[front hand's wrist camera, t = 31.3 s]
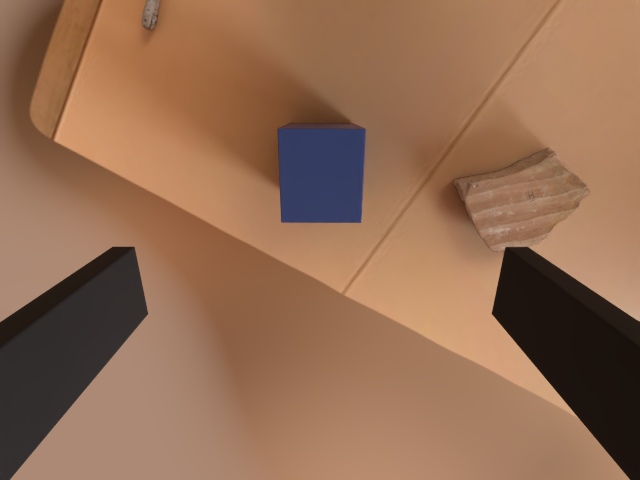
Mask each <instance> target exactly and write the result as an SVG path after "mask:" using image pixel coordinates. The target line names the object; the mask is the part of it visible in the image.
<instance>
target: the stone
mask: <svg viewBox="0 0 640 480" xmlns="http://www.w3.org/2000/svg"><path fill="white" fill-rule="evenodd" d="M453 184H454V185H455V186H456V188H457V191H458V193H459V195H460V198H461V200H462V201H463V202H465V208H466V210H467V212H468V215H469V216H470V218H471V219H472V220H473V223H474V225H475V227H476V230H477V232H478V234H479V235H480V236H481V238H482V239H483V240H484V242H485V243H486V245H487V246H488V247H489V248H490V250H491V251H496V252H498V251H505V247H530V246H533V245H536V244H540V243H542V242H543V241H544V240H545V239H546V238H547V236H548V235H549V234H550V233H551V231H552V229H553V228H554V226H555V225H556V224H557V223H559V222H561V221H563V220H565V219H567V218H568V217H569V216H570V215H572V214H573V213H574V212H575V211H576V210H577V208H578V207H579V204H580V201H581V200H582V199H584V198H585V197H586V196H588V195H590V190H589V188H588V186H587V185H586V184H585V183H584V182H583V181H582V180H581V179H580V178H579V177H577V176H576V175H575V174H574V173H573V172H572V171H570V170H569V169H568V168H567V167H566V166H565V165H564V164H563V163H562V162H561V160H560V158H559V157H558V155H557V153H556V152H555V151H552V150H551V148H547V149H545V150H543V151H541V152H538V153H535V154H533V155H531V156H530V157H528V158H525V159H523V160H520V161H517V162H516V163H514V164H513V165H512V166H510V167H508V168H505V169H503V170H499V171H497V172H493V173H488V174H481V175H474V176H469V177H464V178H459V179H455V180H454V181H453Z"/></svg>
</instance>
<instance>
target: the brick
mask: <svg viewBox="0 0 640 480" xmlns="http://www.w3.org/2000/svg"><path fill="white" fill-rule="evenodd" d="M365 132H366V129H364V128H362V127H360V126H358V125H356V124H353V123H289V124H287V125H285V126H283V127H281V128H279V129H278V149H279V175H280V201H281V222H306V223H361V218H362V196H363V175H364V154H365Z"/></svg>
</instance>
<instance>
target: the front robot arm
mask: <svg viewBox="0 0 640 480" xmlns="http://www.w3.org/2000/svg"><path fill="white" fill-rule="evenodd" d="M147 315H148V311H147V306H146V301H145V296H144V291H143V286H142V281H141V277H140V272H139V267H138V262H137V257H136V252H135V247H112V248H110V249H109V250H107V251H106V252H104V253H103V254H102V255H100V256H98V257H97V258H96V259H94V260H92V261H91V262H90V263H88V264H86V265H85V266H83V267H82V268H81V269H79V270H78V271H76V272H75V273H73V274H72V275H70V276H69V277H67V278H66V279H64V280H63V281H61V282H60V283H58V284H57V285H55V286H54V287H52V288H51V289H49V290H48V291H46V292H45V293H43V294H42V295H40V296H39V297H37V298H36V299H34V300H33V301H31V302H30V303H28V304H27V305H25V306H24V307H22V308H21V309H19V310H18V311H16V312H15V313H14V314H12V315H10V316H9V317H7V318H6V319H5V320H3V321H1V322H0V480H10V479H11V478H12V476H13V475H14V474H15V473H16V472H17V470H18V469H19V468H20V467H21V466H22V464H23V463H24V462H25V461H26V460H27V458H28V457H29V456H30V455H31V454H32V452H33V451H34V450H35V449H36V448H37V446H38V445H39V444H40V443H41V441H42V440H43V439H44V438H45V437H46V436H47V434H48V433H49V432H50V431H51V430H52V428H53V427H54V426H55V425H56V424H57V422H58V421H59V420H60V419H61V418H62V416H63V415H64V414H65V413H66V412H67V410H68V409H69V408H70V407H71V406H72V404H73V403H74V402H75V401H76V400H77V398H78V397H79V396H80V395H81V394H82V392H83V391H84V390H85V389H86V388H87V386H88V385H89V384H90V383H91V382H92V380H93V379H94V378H95V377H96V376H97V374H98V373H99V372H100V371H101V370H102V369H103V367H104V366H105V365H106V364H107V363H108V361H109V360H110V359H111V358H112V357H113V355H114V354H115V353H116V352H117V350H118V349H119V348H120V347H121V346H122V345H123V343H124V342H125V341H126V340H127V339H128V337H129V336H130V335H131V334H132V333H133V331H134V330H135V329H136V328H137V327H138V325H139V324H140V323H141V322H142V321H143V319H144V318H145V317H146V316H147ZM492 315H493V316H494V317H495V318H496V319H497V321H498V322H499V323H500V324H501V325H502V327H503V328H504V329H505V330H506V331H507V333H508V334H509V335H510V336H511V337H512V339H513V340H514V341H515V342H516V343H517V345H518V346H519V347H520V348H521V349H522V351H523V352H524V353H525V354H526V355H527V357H528V358H529V359H530V360H531V361H532V363H533V364H534V365H535V366H536V367H537V369H538V370H539V371H540V372H541V373H542V374H543V376H544V377H545V378H546V379H547V380H548V382H549V383H550V384H551V385H552V386H553V388H554V389H555V390H556V391H557V392H558V394H559V395H560V396H561V397H562V398H563V400H564V401H565V402H566V403H567V404H568V406H569V407H570V408H571V409H572V410H573V412H574V413H575V414H576V415H577V416H578V418H579V419H580V420H581V421H582V422H583V424H584V425H585V426H586V427H587V428H588V430H589V431H590V432H591V433H592V434H593V436H594V437H595V438H596V439H597V440H598V442H599V443H600V444H601V445H602V446H603V448H604V449H605V450H606V451H607V452H608V454H609V455H610V456H611V457H612V458H613V460H614V461H615V462H616V463H617V464H618V466H619V467H620V468H621V469H622V470H623V472H624V473H625V474H626V475H627V476H628V478H629V479H630V480H640V321H638V320H636V319H634V318H633V317H631V316H630V315H628V314H627V313H625V312H624V311H622V310H621V309H619V308H618V307H616V306H615V305H613V304H612V303H610V302H609V301H607V300H606V299H604V298H603V297H601V296H600V295H598V294H597V293H595V292H594V291H592V290H591V289H589V288H588V287H586V286H585V285H583V284H582V283H580V282H579V281H577V280H576V279H574V278H573V277H571V276H570V275H568V274H567V273H565V272H564V271H562V270H561V269H560V268H558V267H557V266H555V265H554V264H552V263H551V262H549V261H548V260H546V259H545V258H543V257H542V256H540V255H539V254H537V253H536V252H534V251H533V250H531V249H530V248H528V247H505V252H504V257H503V262H502V267H501V272H500V277H499V281H498V286H497V291H496V296H495V301H494V306H493V311H492Z"/></svg>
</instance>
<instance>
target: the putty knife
mask: <svg viewBox="0 0 640 480" xmlns="http://www.w3.org/2000/svg"><path fill="white" fill-rule="evenodd" d="M159 3H160V0H147V1H146V4H145V8H144V12H143V16H142V25H143V27H144V28H146V29H147V30H153V29H154V27H155V24H156V21H157V17H158V11H159Z"/></svg>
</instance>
